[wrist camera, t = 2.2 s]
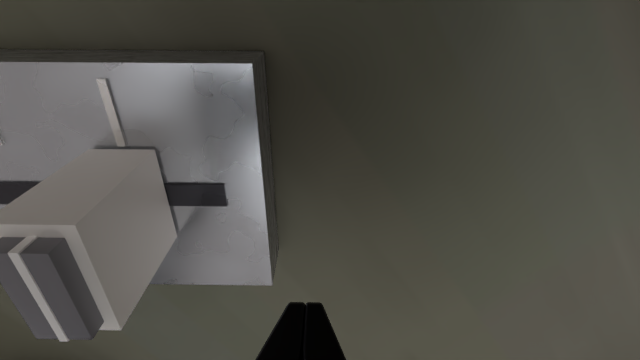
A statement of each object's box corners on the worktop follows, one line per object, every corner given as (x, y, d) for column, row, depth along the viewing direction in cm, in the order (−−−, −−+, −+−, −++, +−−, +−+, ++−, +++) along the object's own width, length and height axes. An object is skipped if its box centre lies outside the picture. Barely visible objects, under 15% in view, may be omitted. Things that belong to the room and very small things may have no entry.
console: (278, 249, 18) (272, 287, 16) (-56, 245, 18) (-111, 282, 16) (264, 51, 13) (251, 64, 11) (-196, 48, 13) (-305, 60, 11)
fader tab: (177, 236, 14) (109, 349, 10) (120, 235, 14) (27, 348, 10) (154, 149, 12) (57, 242, 8) (88, 148, 12) (-46, 240, 8)
